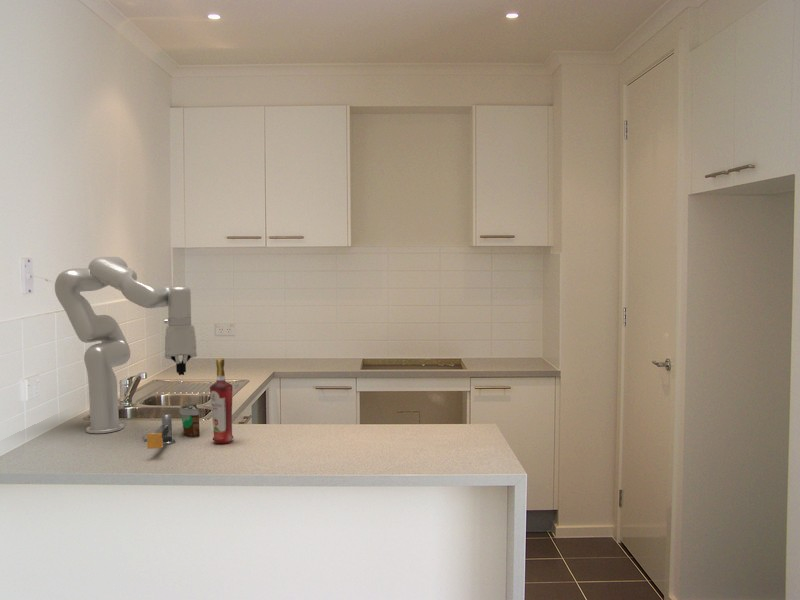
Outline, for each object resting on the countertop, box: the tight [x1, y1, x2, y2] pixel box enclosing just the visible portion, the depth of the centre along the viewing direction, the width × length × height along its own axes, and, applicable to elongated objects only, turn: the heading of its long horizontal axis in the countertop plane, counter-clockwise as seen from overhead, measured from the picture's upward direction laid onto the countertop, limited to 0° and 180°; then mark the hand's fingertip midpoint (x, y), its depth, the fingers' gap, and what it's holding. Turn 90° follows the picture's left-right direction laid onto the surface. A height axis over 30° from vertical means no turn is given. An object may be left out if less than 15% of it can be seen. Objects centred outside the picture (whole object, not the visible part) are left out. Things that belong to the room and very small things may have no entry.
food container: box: [179, 402, 201, 438], centre depth 244 cm, size 12×6×10 cm, turn 21°
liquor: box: [209, 358, 234, 445], centre depth 232 cm, size 7×7×28 cm
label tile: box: [142, 432, 153, 443], centre depth 240 cm, size 8×6×1 cm
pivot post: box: [161, 413, 176, 446], centre depth 233 cm, size 5×5×10 cm
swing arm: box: [146, 424, 169, 449], centre depth 223 cm, size 16×4×4 cm, turn 7°
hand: (181, 374), depth 243 cm, fingers closed
